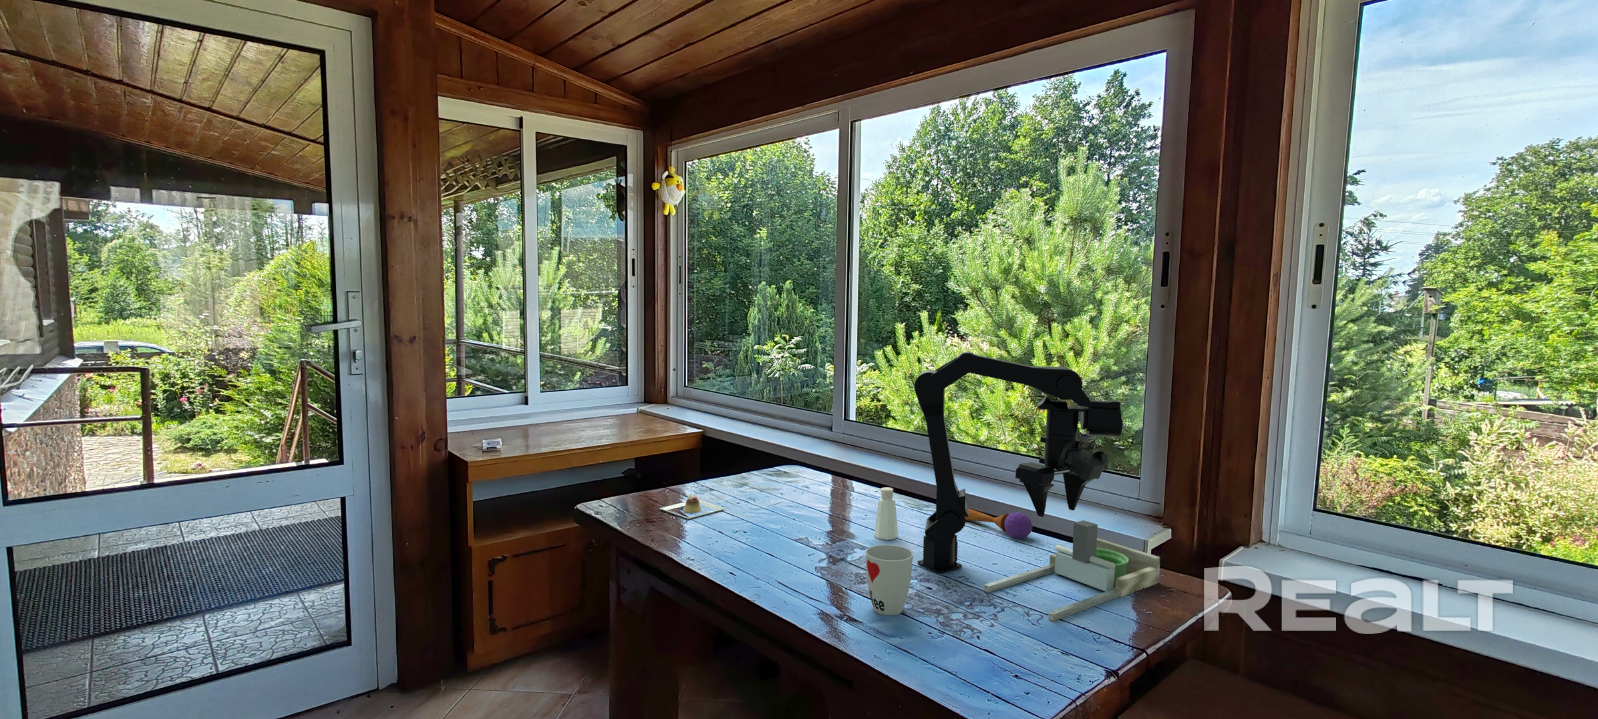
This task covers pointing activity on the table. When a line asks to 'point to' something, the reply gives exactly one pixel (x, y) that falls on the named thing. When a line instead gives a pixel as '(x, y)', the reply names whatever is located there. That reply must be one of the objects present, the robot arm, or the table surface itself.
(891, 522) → the pepper shaker
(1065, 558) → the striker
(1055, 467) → the robot arm
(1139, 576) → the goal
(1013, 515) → the maraca
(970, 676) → the table surface
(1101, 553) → the ramekin
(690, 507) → the dessert
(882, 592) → the cup
